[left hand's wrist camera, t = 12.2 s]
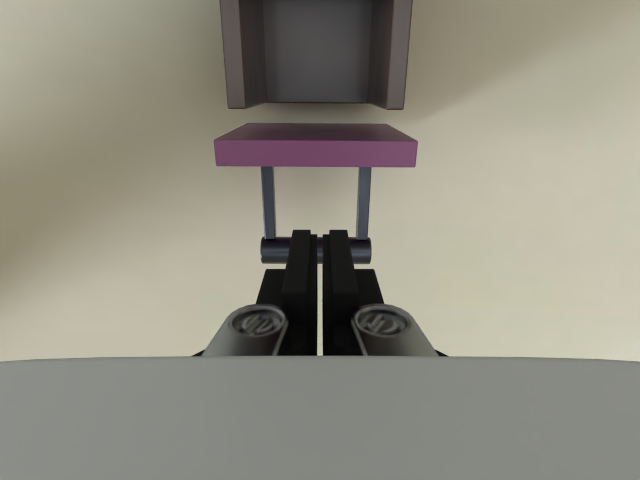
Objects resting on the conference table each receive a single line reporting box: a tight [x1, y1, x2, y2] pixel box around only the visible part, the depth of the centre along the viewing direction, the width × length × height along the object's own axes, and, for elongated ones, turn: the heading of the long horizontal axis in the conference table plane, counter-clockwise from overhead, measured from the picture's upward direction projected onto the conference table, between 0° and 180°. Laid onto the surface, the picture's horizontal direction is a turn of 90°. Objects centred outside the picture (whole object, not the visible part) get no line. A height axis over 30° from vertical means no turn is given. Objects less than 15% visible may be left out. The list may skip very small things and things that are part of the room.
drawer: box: [214, 0, 418, 264], centre depth 20 cm, size 20×9×9 cm, turn 0°
